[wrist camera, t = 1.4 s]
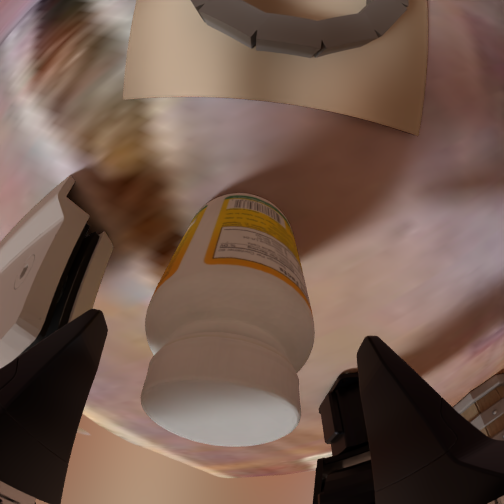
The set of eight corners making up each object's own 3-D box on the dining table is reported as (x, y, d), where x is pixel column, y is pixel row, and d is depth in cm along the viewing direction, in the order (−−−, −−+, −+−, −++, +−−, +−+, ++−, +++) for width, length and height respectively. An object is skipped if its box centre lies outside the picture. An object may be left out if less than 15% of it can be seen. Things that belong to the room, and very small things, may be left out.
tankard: (511, 361, 23) (546, 432, 10) (495, 392, 28) (520, 451, 15) (404, 426, 28) (425, 510, 15) (406, 443, 33) (421, 508, 20)
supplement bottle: (272, 174, 12) (307, 328, 4) (304, 267, 15) (343, 437, 6) (170, 213, 13) (72, 369, 5) (214, 294, 16) (186, 455, 7)
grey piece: (74, 171, 12) (-6, 341, 5) (122, 226, 15) (89, 390, 9) (-18, 263, 15) (-51, 358, 9) (15, 291, 19) (-9, 384, 12)
